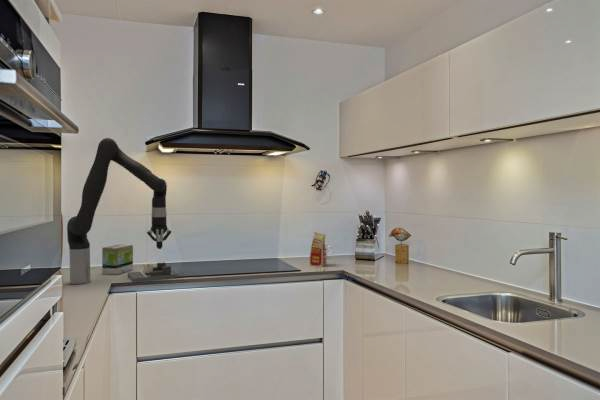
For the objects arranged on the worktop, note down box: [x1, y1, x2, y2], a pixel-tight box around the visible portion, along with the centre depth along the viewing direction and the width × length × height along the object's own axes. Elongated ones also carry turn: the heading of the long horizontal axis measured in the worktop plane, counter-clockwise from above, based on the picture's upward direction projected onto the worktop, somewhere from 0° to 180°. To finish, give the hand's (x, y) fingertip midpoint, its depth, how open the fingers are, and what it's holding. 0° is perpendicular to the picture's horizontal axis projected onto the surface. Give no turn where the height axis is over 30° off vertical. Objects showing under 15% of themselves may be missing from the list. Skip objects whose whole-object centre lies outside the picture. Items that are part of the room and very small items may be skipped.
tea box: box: [101, 244, 134, 275], centre depth 254 cm, size 15×10×15 cm
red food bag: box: [308, 231, 327, 268], centre depth 269 cm, size 9×9×20 cm
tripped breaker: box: [143, 263, 154, 274], centre depth 238 cm, size 4×3×5 cm
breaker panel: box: [127, 262, 178, 283], centre depth 239 cm, size 22×18×6 cm
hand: (159, 248), depth 240 cm, fingers closed
